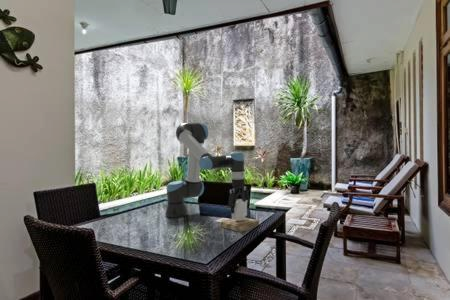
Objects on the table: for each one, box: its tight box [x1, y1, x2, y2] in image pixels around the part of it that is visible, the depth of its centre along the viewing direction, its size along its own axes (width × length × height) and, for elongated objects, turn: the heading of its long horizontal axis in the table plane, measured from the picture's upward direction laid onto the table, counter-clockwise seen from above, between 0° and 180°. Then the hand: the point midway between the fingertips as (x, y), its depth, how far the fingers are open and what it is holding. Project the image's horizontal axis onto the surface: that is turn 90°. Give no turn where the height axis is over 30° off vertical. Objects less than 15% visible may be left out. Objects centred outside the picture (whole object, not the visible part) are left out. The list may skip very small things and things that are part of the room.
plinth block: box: [220, 217, 260, 233], centre depth 176 cm, size 16×16×3 cm
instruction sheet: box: [214, 217, 230, 223], centre depth 189 cm, size 12×9×1 cm
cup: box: [235, 198, 248, 221], centre depth 176 cm, size 10×10×11 cm
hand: (239, 216), depth 176 cm, fingers closed on cup, 9 cm apart
